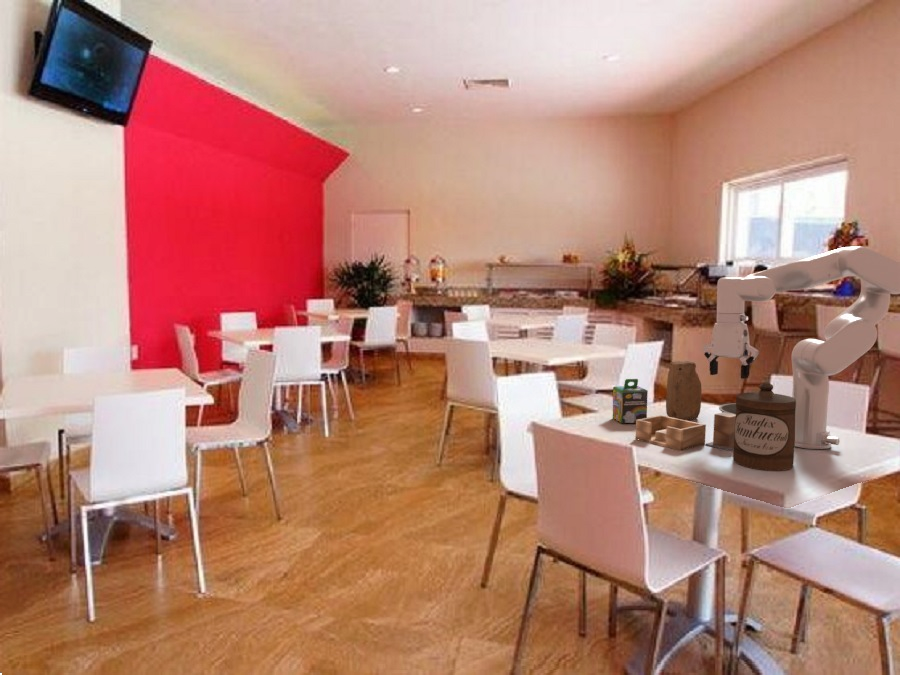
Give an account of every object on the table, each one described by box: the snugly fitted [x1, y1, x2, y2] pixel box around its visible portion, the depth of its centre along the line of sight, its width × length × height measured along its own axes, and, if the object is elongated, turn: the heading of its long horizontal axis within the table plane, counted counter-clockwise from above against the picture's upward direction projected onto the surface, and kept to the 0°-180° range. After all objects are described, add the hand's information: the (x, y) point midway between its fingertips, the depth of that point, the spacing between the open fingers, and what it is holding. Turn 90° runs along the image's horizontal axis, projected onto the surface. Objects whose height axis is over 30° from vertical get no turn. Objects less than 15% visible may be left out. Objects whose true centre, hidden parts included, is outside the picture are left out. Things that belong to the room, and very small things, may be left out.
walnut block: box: [712, 411, 736, 448], centre depth 201 cm, size 5×5×9 cm
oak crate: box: [634, 414, 707, 451], centre depth 206 cm, size 16×12×6 cm
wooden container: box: [732, 382, 796, 472], centre depth 183 cm, size 15×15×22 cm
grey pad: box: [705, 441, 734, 452], centre depth 202 cm, size 8×8×1 cm
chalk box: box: [612, 378, 649, 424], centre depth 233 cm, size 9×9×15 cm
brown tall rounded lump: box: [665, 360, 702, 421], centre depth 238 cm, size 11×8×20 cm
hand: (728, 376), depth 203 cm, fingers open, 9 cm apart
